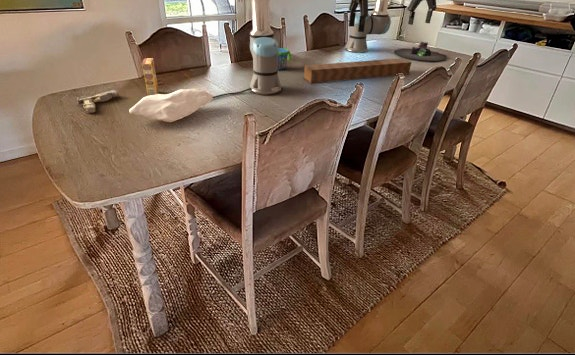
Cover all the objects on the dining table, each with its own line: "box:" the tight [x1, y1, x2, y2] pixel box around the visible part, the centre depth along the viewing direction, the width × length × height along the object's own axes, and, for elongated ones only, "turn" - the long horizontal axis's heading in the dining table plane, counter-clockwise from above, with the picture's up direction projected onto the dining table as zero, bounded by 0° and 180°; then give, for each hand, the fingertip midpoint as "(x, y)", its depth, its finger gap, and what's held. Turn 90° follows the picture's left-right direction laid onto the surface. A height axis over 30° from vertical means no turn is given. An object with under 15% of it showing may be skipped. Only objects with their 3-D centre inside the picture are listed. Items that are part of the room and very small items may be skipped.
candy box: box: [141, 57, 160, 96], centre depth 163 cm, size 9×4×15 cm, turn 13°
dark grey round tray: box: [393, 41, 447, 62], centre depth 246 cm, size 35×35×9 cm
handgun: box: [76, 89, 120, 114], centre depth 155 cm, size 3×18×15 cm
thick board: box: [303, 57, 412, 84], centre depth 201 cm, size 62×9×7 cm, turn 112°
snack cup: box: [278, 47, 292, 71], centre depth 207 cm, size 16×10×10 cm
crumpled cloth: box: [129, 88, 214, 123], centre depth 147 cm, size 24×35×9 cm
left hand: (355, 29), depth 183 cm, fingers open, 13 cm apart
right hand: (418, 23), depth 202 cm, fingers open, 13 cm apart
